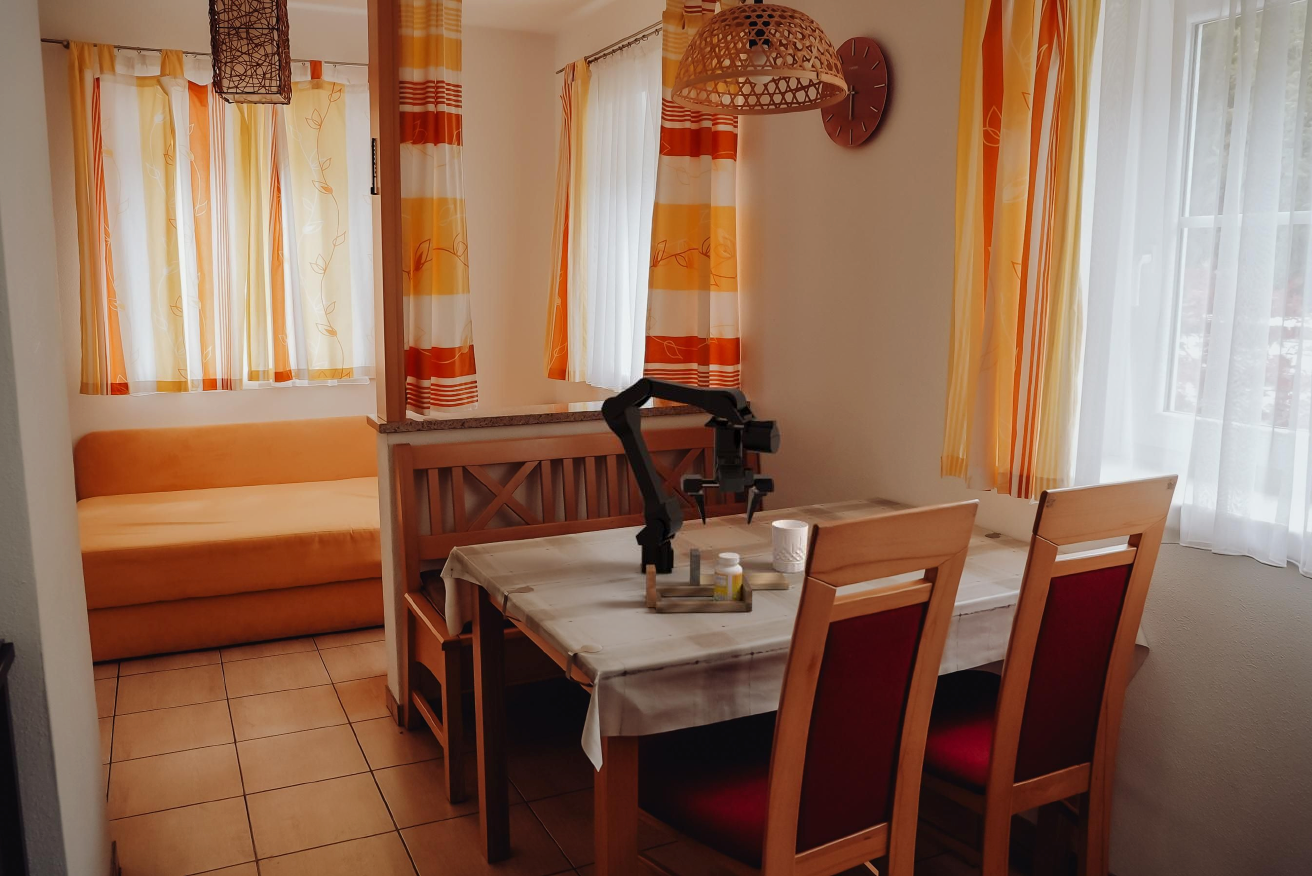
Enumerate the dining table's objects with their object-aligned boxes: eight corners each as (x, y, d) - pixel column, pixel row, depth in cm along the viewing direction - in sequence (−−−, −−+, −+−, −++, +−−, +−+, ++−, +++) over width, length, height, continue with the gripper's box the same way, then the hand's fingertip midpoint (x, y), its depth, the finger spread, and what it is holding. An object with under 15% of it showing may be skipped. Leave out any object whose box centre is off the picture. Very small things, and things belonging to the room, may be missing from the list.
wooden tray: (648, 612, 183) (648, 576, 182) (645, 594, 194) (645, 560, 193) (752, 611, 184) (752, 575, 183) (743, 593, 195) (744, 559, 194)
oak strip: (692, 589, 197) (693, 556, 196) (689, 579, 204) (689, 547, 203) (788, 588, 198) (789, 555, 197) (782, 578, 205) (783, 546, 204)
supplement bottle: (715, 607, 187) (716, 558, 185) (712, 598, 192) (713, 551, 191) (743, 607, 187) (744, 558, 186) (739, 598, 192) (740, 551, 191)
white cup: (805, 575, 209) (807, 529, 207) (768, 572, 210) (770, 527, 209) (807, 565, 216) (809, 520, 215) (772, 562, 218) (773, 518, 216)
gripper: (686, 456, 192) (685, 534, 194) (780, 456, 193) (778, 533, 195) (681, 447, 203) (680, 521, 205) (770, 447, 204) (768, 520, 206)
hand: (726, 524), depth 203 cm, fingers open, 9 cm apart
